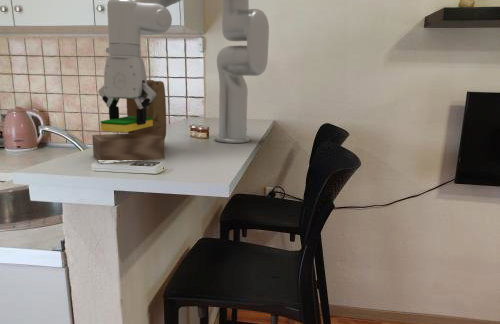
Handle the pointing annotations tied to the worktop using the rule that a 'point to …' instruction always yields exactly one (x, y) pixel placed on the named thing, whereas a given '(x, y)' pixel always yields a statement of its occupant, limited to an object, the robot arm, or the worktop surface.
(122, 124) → the dish sponge
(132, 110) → the block
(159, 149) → the walnut block
